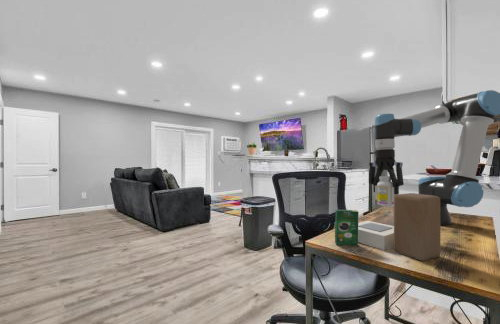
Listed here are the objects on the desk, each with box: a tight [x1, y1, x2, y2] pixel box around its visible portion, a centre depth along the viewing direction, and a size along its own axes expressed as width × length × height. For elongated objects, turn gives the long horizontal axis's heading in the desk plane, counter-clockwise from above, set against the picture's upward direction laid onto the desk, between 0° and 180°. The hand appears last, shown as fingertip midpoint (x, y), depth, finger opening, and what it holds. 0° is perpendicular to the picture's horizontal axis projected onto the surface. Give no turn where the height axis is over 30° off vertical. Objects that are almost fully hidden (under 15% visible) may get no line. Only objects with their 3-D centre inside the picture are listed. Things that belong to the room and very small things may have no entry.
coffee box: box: [334, 209, 360, 247], centre depth 92 cm, size 8×3×13 cm, turn 82°
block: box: [393, 192, 441, 262], centre depth 82 cm, size 10×10×20 cm
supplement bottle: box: [376, 175, 394, 207], centre depth 109 cm, size 7×7×13 cm
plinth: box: [358, 220, 394, 251], centre depth 97 cm, size 16×16×5 cm
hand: (385, 200), depth 109 cm, fingers closed on supplement bottle, 7 cm apart
